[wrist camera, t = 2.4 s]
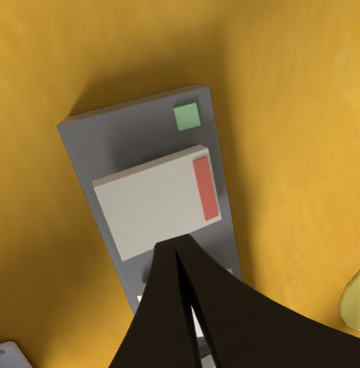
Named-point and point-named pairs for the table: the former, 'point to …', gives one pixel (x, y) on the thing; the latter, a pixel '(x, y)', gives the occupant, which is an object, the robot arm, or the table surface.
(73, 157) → the strip
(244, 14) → the table surface
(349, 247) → the table surface
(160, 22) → the table surface
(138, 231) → the rocker
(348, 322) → the candle
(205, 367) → the rocker
